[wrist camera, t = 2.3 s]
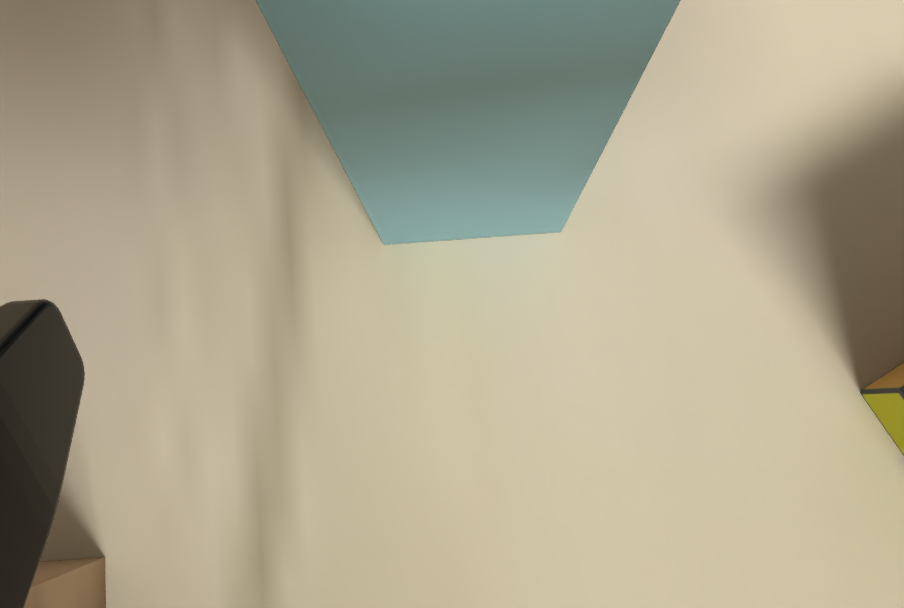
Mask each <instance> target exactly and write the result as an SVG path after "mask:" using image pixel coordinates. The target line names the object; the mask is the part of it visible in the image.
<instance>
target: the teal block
mask: <svg viewBox="0 0 904 608" xmlns="http://www.w3.org/2000/svg"><path fill="white" fill-rule="evenodd" d="M256 2H257V4H258V6H259V8H260V10H261V11H262V13H263V15H264V17H265V19H266V21H267V23H268V25H269V27H270V29H271V31H272V32H273V34H274V36H275V38H276V40H277V42H278V44H279V46H280V48H281V50H282V52H283V53H284V55H285V57H286V59H287V61H288V63H289V65H290V67H291V69H292V71H293V73H294V74H295V76H296V78H297V80H298V82H299V84H300V86H301V88H302V90H303V92H304V94H305V95H306V97H307V99H308V101H309V103H310V105H311V107H312V109H313V111H314V113H315V114H316V116H317V118H318V120H319V122H320V124H321V126H322V128H323V130H324V132H325V134H326V135H327V137H328V139H329V141H330V143H331V145H332V147H333V149H334V151H335V153H336V155H337V156H338V158H339V160H340V162H341V164H342V166H343V168H344V170H345V172H346V174H347V176H348V177H349V179H350V181H351V183H352V185H353V187H354V189H355V191H356V193H357V195H358V197H359V198H360V200H361V202H362V204H363V206H364V208H365V210H366V212H367V214H368V216H369V218H370V219H371V221H372V223H373V225H374V227H375V229H376V231H377V233H378V235H379V237H380V238H381V240H382V242H383V244H384V245H387V244H401V243H415V242H429V241H443V240H457V239H471V238H485V237H499V236H512V235H526V234H540V233H554V232H561V231H562V229H563V227H564V225H565V223H566V222H567V220H568V218H569V216H570V214H571V212H572V210H573V208H574V206H575V204H576V202H577V200H578V198H579V196H580V194H581V192H582V190H583V189H584V187H585V185H586V183H587V181H588V179H589V177H590V175H591V173H592V171H593V169H594V167H595V165H596V163H597V161H598V159H599V157H600V156H601V154H602V152H603V150H604V148H605V146H606V144H607V142H608V140H609V138H610V136H611V134H612V132H613V130H614V128H615V126H616V124H617V123H618V121H619V119H620V117H621V115H622V113H623V111H624V109H625V107H626V105H627V103H628V101H629V99H630V97H631V95H632V93H633V91H634V90H635V88H636V86H637V84H638V82H639V80H640V78H641V76H642V74H643V72H644V70H645V68H646V66H647V64H648V62H649V60H650V58H651V56H652V55H653V53H654V51H655V49H656V47H657V45H658V43H659V41H660V39H661V37H662V35H663V33H664V31H665V29H666V27H667V25H668V23H669V22H670V20H671V18H672V16H673V14H674V12H675V10H676V8H677V6H678V4H679V2H680V0H256Z"/></svg>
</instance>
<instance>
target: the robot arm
mask: <svg viewBox="0 0 904 608" xmlns="http://www.w3.org/2000/svg"><path fill="white" fill-rule="evenodd" d="M84 374H85V373H84V365H83V361H82V358H81V356H80V354H79V351H78V349H77V347H76V345H75V343H74V341H73V338H72V336H71V334H70V332H69V330H68V328H67V325H66V323H65V321H64V319H63V317H62V315H61V312H60V311H59V309H58V307H57V306H56V305H55V304H54V303H52V302H51V301H48V300H45V299H42V300H27V301H13V302H9V303H6V304H4V305H2V306H0V608H24V606H25V603H26V600H27V597H28V594H29V591H30V588H31V585H32V582H33V579H34V576H35V573H36V570H37V567H38V564H39V562H40V559H41V556H42V553H43V550H44V547H45V544H46V541H47V538H48V535H49V532H50V529H51V525H52V522H53V519H54V516H55V513H56V509H57V505H58V501H59V497H60V493H61V489H62V484H63V479H64V475H65V470H66V465H67V461H68V456H69V451H70V446H71V442H72V437H73V432H74V428H75V423H76V418H77V413H78V409H79V404H80V399H81V395H82V390H83V385H84Z"/></svg>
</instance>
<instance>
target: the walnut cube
mask: <svg viewBox="0 0 904 608" xmlns="http://www.w3.org/2000/svg"><path fill="white" fill-rule="evenodd" d="M24 608H106V587H105V557H102V558H87V559H73V560H58V561H43V562H39V564H38V567H37V570H36V573H35V576H34V579H33V582H32V585H31V588H30V591H29V594H28V597H27V600H26V603H25V606H24Z"/></svg>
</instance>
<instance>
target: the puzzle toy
mask: <svg viewBox="0 0 904 608" xmlns="http://www.w3.org/2000/svg"><path fill="white" fill-rule="evenodd" d="M861 394H862V396H863V397H864V399H865V400H866V402H867V403H868V404H869V406H870V407H871V409H872V410H873V412H874V413H875V415H876V416H877V417H878V419H879V420H880V422H881V423H882V425H883V426H884V428H885V429H886V430H887V432H888V433H889V435H890V436H891V438H892V439H893V441H894V442H895V443H896V445H897V446H898V448H899V449H900V451H901V452H902V454H903V455H904V363H902V364H901V365H899V366H898V367H896V368H894V369H893V370H891V371H890V372H888V373H887V374H885V375H884V376H882V377H881V378H879V379H878V380H876V381H874V382H873V383H871V384H870V385H868V386H867V387H865V388H864V389H862V390H861Z"/></svg>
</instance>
